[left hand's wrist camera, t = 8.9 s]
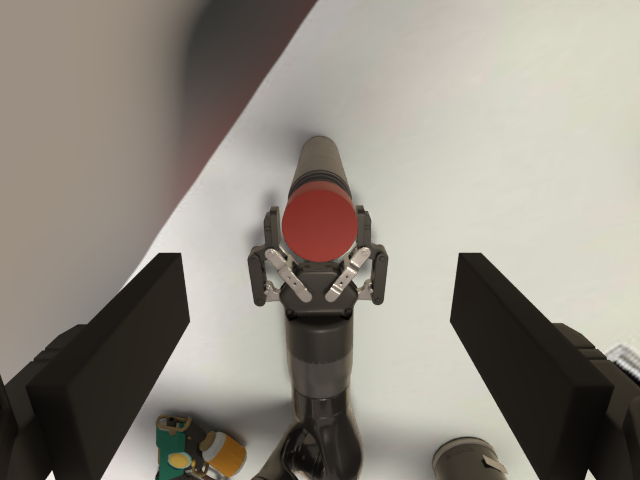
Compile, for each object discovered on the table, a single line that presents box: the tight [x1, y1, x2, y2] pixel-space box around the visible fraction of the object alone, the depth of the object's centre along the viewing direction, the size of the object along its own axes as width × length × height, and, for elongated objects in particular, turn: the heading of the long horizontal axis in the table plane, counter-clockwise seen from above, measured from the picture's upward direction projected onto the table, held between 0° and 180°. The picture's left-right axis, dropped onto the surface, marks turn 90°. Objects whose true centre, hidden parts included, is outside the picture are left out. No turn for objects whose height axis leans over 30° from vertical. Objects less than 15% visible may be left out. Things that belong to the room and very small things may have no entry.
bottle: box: [288, 136, 352, 200], centre depth 32 cm, size 4×4×25 cm
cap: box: [282, 181, 358, 262], centre depth 21 cm, size 4×4×2 cm
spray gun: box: [155, 415, 247, 480], centre depth 57 cm, size 4×17×15 cm
